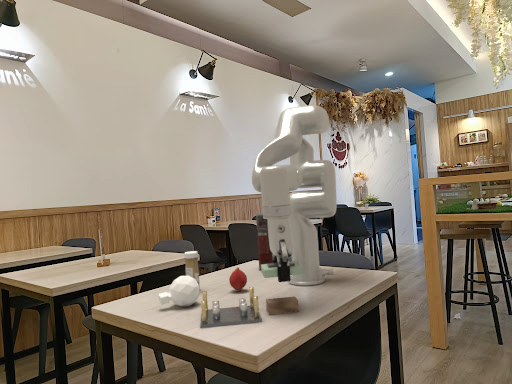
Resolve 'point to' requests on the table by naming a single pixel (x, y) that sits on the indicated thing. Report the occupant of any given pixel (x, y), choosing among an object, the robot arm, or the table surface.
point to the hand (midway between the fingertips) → (281, 277)
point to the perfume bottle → (181, 292)
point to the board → (271, 269)
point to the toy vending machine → (263, 241)
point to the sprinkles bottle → (192, 265)
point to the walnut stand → (282, 305)
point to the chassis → (230, 312)
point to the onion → (238, 279)
